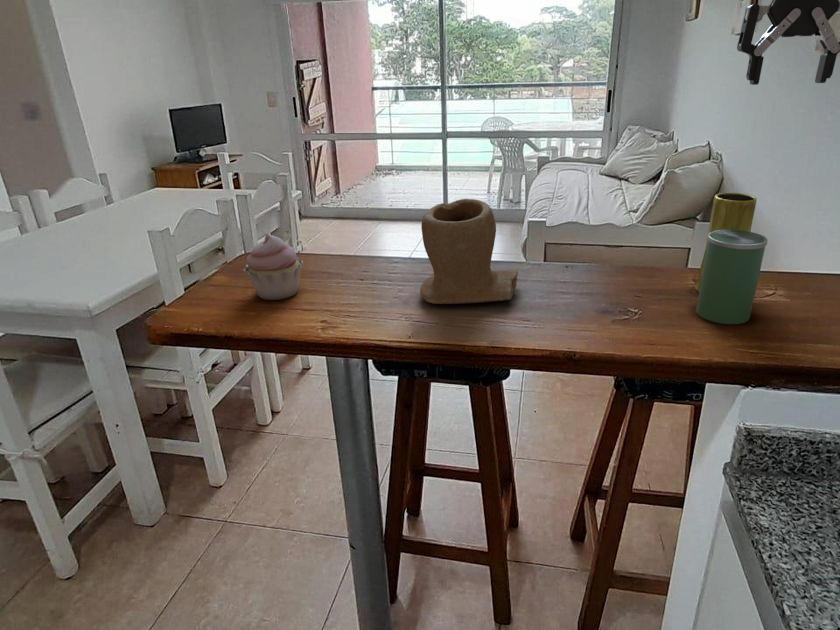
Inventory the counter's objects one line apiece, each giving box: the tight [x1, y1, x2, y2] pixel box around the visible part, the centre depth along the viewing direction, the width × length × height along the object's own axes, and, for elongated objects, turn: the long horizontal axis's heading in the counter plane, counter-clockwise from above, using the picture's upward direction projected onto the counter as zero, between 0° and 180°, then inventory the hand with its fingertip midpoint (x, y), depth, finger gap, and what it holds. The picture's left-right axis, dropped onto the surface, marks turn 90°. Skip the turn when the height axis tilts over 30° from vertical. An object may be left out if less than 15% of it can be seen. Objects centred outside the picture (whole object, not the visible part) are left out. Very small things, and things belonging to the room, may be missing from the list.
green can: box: [695, 230, 768, 325], centre depth 76 cm, size 7×7×11 cm
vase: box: [694, 192, 758, 293], centre depth 83 cm, size 6×6×14 cm
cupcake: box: [242, 233, 304, 301], centre depth 90 cm, size 9×9×10 cm
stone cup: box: [419, 198, 519, 305], centre depth 84 cm, size 15×12×15 cm
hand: (786, 83), depth 83 cm, fingers open, 8 cm apart
